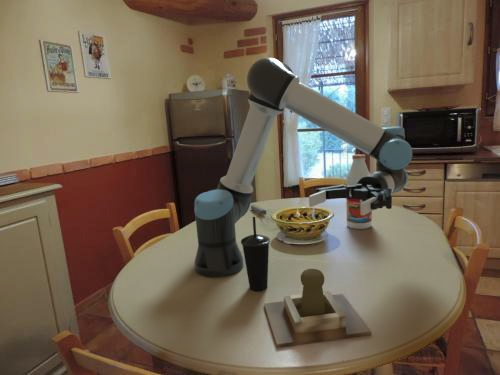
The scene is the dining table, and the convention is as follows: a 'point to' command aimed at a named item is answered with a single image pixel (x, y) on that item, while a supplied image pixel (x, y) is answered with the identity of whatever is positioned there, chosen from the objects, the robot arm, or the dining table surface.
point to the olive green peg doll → (312, 293)
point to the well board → (314, 321)
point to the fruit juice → (354, 205)
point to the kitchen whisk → (261, 211)
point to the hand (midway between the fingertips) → (334, 205)
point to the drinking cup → (256, 259)
